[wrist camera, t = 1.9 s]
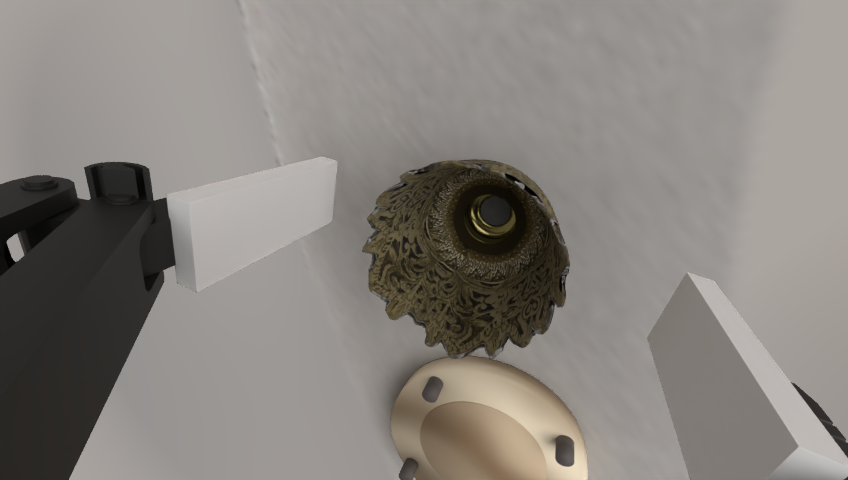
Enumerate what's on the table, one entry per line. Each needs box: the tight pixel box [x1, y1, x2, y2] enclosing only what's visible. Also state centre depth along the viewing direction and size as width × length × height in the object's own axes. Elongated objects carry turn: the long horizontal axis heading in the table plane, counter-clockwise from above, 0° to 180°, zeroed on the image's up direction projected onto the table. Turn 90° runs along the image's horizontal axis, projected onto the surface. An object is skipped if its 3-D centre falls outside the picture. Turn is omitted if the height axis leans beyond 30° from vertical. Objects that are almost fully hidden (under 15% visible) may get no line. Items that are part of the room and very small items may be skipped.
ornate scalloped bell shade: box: [362, 160, 570, 359], centre depth 16 cm, size 8×7×8 cm
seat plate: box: [391, 356, 588, 480], centre depth 24 cm, size 13×13×3 cm
